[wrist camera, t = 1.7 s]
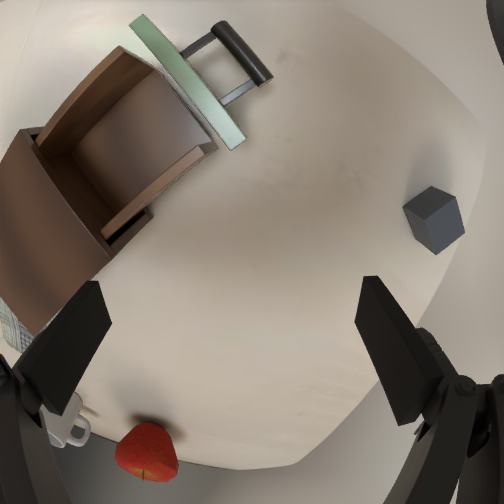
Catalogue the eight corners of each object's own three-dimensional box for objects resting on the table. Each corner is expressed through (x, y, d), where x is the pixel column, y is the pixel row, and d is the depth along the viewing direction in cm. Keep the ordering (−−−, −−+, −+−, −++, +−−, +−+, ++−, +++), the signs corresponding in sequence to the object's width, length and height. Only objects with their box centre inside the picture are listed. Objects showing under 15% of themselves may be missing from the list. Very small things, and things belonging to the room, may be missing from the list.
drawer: (212, 17, 18) (197, -22, 11) (288, 111, 22) (306, 101, 14) (64, 147, 22) (13, 159, 15) (128, 231, 26) (91, 267, 19)
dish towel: (-6, 252, 27) (-19, 261, 25) (84, 301, 30) (72, 316, 28) (8, 337, 34) (0, 347, 31) (84, 381, 37) (78, 394, 34)
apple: (189, 423, 41) (181, 482, 30) (176, 444, 45) (168, 493, 34) (128, 403, 39) (110, 460, 28) (124, 426, 43) (109, 475, 32)
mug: (46, 390, 40) (26, 428, 30) (47, 372, 37) (23, 414, 27) (95, 419, 43) (79, 460, 33) (101, 405, 40) (83, 451, 30)
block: (431, 186, 25) (455, 196, 21) (442, 218, 26) (465, 232, 22) (402, 206, 26) (424, 219, 22) (415, 238, 27) (436, 255, 23)
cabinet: (82, 123, 22) (19, 129, 13) (153, 216, 26) (112, 259, 17) (16, 215, 26) (-34, 246, 17) (73, 290, 30) (34, 337, 21)
